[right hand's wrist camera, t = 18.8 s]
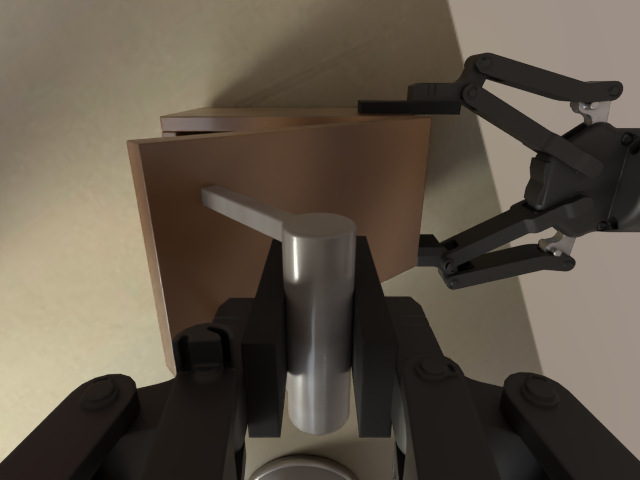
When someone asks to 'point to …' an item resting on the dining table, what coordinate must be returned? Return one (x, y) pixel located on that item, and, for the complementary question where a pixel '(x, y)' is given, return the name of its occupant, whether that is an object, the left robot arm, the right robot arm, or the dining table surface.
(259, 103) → the dining table surface
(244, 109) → the chest
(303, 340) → the lid
